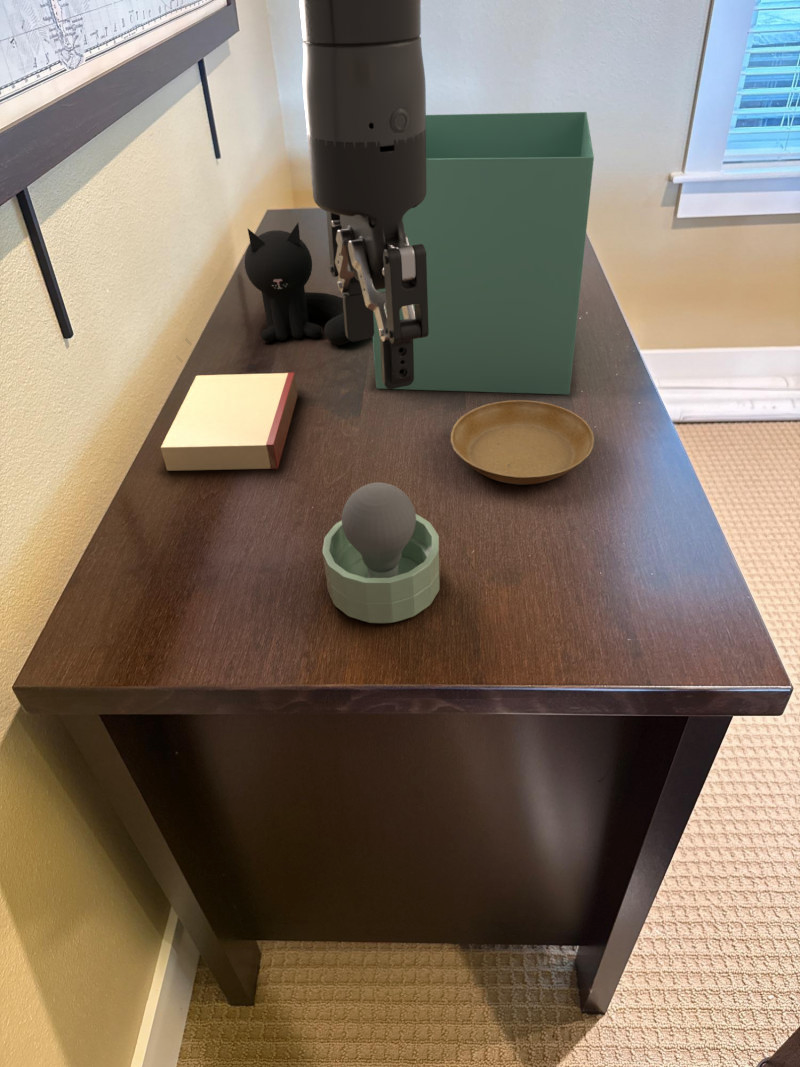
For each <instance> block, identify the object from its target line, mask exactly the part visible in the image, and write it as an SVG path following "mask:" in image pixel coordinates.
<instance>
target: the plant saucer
mask: <svg viewBox="0 0 800 1067" xmlns="http://www.w3.org/2000/svg"><path fill="white" fill-rule="evenodd" d="M452 426H453V427H452V428H451V430H450V443H451V447H452V448H453V450H454V451H455V453H456V454H457V455H458V457H459V458H460V459H461V460H462V461H463V462H464V463H465V464H466V465H468V467H470V468H471V469H473V470H474V471H476V472H478V473H479V474H480V475H483V476H484V477H486V478H489V479H491V480H494V481H497V482H500V483H503V484H510V485H520V486H521V485H523V486H526V485H536V484H541V483H546V482H549V481H552V480H555V479H557V478H560V477H562V476H563V475H565V474H566V473H569V472H570V471H572V470H573V469H575V468H576V467H578V466H580V464H581V463H583V462H584V461H585V460H586V459H587V458H588V457H589V455H590V454H591V453H592V451H593V448H594V445H595V435H594V433H593V430H592V428H591V427H590V425H589V424H588V423H587V421H585V420H584V418H582V417H581V416H579V415H578V414H576V413H575V412H573V411H571V410H569V409H567V408H564V407H562V406H559V405H556V404H552V403H549V402H544V401H538V400H526V399H521V400H520V399H515V400H513V399H512V400H511V399H510V400H503V401H496V402H491V403H487V404H484V405H480V406H478V407H475V408H474V409H472V410H469V411H468V412H466V413H465V414H463V415H462V416H461V417H459V418H458V419H457V421H456V422H455V423H454V425H452Z"/></svg>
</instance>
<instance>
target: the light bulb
mask: <svg viewBox="0 0 800 1067" xmlns="http://www.w3.org/2000/svg"><path fill="white" fill-rule="evenodd" d="M416 514H417V513H416V509H415V506H414V504H413V502H412V500H411V499H410V498H409V496H408V495H407V494H406V493H405V492H404V491H403V489H400V488H398V487H397V486H395V485H394V484H390V483H387V482H378V481H376V482H370V483H367V484H365V485H362V486H361V487H358V489H356V490H355V491H354V492H352V494H351V495H350V496H349V497H348V499H347V501H346V502H345V504H344V505H343V509H342V514H341V520H342V527H343V530H344V533H345V535H346V537H347V539H348V541H349V542H350V543H351V544H352V545H353V546H354V548H355V549H356V550H357V551H359V553H360V554H361V555H362V559H363V561H364V563H365V565H366V566H367V569H368V578H389V577H393V576H397V575H399V574H398V564H399V562H400V559H401V554H402V550H403V549H404V547H405V546H406V545H407V543H408V542H409V540H410V539H411V537H412V535H413V533H414V529H415V524H416Z"/></svg>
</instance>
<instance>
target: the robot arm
mask: <svg viewBox="0 0 800 1067" xmlns="http://www.w3.org/2000/svg"><path fill="white" fill-rule="evenodd" d="M298 3H299V13H300V22H301V34H302V40H303V41H302V50H303V51H302V52H303V54H302V57H303V60H302V92H303V94H302V95H303V104H304V105H303V106H304V113H305V123H306V124H305V125H306V138H307V146H308V147H307V148H308V157H309V158H308V159H309V167H310V179H311V188H312V198H313V201H314V203H315V204H316V205H317V207H318V208H320V209H322V211H325V212H326V228H327V240H328V241H327V244H328V256H329V272H330V274H331V276H332V277H333V278H337V282H336V285H337V289H338V290H339V293H340V294H341V295H342V298H343V309H344V322H345V334H346V336H347V338H348V339H349V340H350V342H352V343H355V342H360V341H365V340H371V339H373V335H374V317H373V311H374V313H375V317H376V321H377V325H378V329H379V335H380V337H381V338H380V351H381V372H382V382H383V384H384V385H385V386H386V387H387V388H388V389H387V390H395V389H394V388H399V387H403V386H408V385H410V384H412V382H413V381H414V352H413V339H417V338H423V337H427V336H428V333H429V327H428V295H427V262H426V250H425V247H424V245H423V244H418V245H409V241H408V238H407V235H406V233H405V232H404V224H403V221H402V219H403V216H404V214H405V213H406V212H407V211H408V210H409V209H411V208H415V207H416V206H418V205H419V204H420V203H421V202H422V201H423V200H424V198H425V196H426V115H427V98H426V97H427V93H426V92H427V90H426V89H427V88H426V87H427V86H426V74H425V66H424V58H423V48H422V37H421V35H422V0H298ZM379 289H385V291H384V292H379V291H377V290H379ZM413 304H415V311H414V307H413ZM385 307H386V308H387V312H386V308H385ZM400 309H402V313H403V317H404V319H403V320H400Z"/></svg>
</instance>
